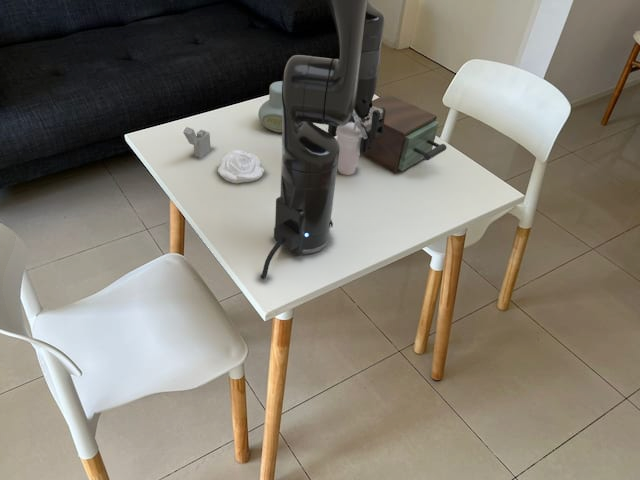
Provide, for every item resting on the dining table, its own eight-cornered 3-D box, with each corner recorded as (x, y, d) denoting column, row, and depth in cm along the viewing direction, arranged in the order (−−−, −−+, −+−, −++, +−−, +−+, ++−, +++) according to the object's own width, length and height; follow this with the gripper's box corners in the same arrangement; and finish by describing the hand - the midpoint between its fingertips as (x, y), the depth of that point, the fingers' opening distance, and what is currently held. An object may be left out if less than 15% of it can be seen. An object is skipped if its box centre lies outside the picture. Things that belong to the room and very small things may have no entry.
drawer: (447, 162, 116) (456, 130, 111) (418, 180, 111) (427, 147, 106) (387, 132, 125) (393, 101, 119) (358, 147, 120) (363, 115, 114)
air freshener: (254, 130, 125) (253, 90, 119) (265, 114, 131) (265, 75, 124) (298, 138, 123) (300, 98, 116) (307, 122, 129) (310, 82, 122)
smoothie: (359, 180, 112) (369, 119, 102) (329, 176, 113) (336, 115, 103) (362, 163, 116) (372, 104, 107) (333, 160, 117) (340, 100, 107)
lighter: (204, 147, 119) (202, 115, 114) (211, 149, 119) (208, 117, 113) (186, 162, 115) (182, 129, 109) (192, 164, 114) (189, 131, 109)
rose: (235, 137, 114) (273, 150, 111) (236, 154, 117) (272, 168, 114) (207, 157, 108) (246, 172, 105) (208, 175, 111) (246, 191, 108)
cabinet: (427, 154, 120) (437, 115, 113) (395, 173, 114) (404, 133, 107) (380, 131, 127) (387, 93, 120) (348, 147, 121) (353, 108, 114)
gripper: (401, 75, 98) (386, 151, 109) (343, 51, 105) (334, 124, 116) (375, 88, 94) (362, 165, 105) (317, 61, 101) (311, 136, 112)
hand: (348, 143), depth 111 cm, fingers open, 8 cm apart
